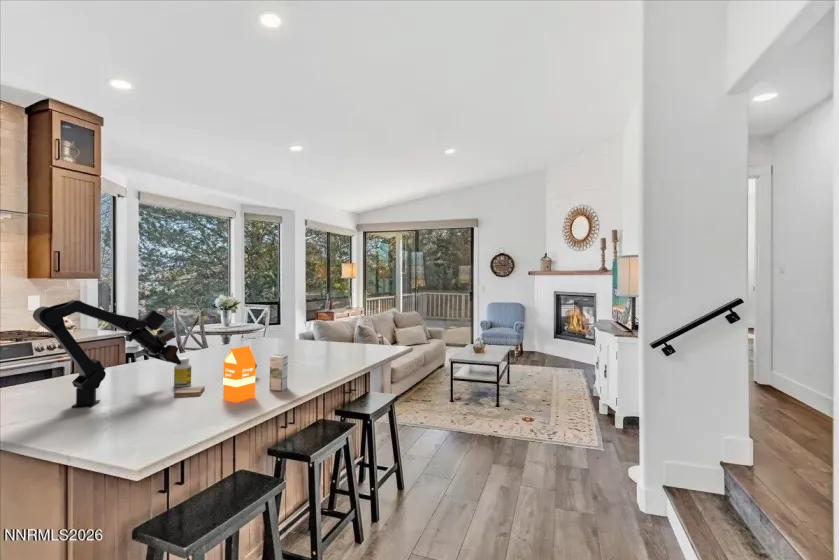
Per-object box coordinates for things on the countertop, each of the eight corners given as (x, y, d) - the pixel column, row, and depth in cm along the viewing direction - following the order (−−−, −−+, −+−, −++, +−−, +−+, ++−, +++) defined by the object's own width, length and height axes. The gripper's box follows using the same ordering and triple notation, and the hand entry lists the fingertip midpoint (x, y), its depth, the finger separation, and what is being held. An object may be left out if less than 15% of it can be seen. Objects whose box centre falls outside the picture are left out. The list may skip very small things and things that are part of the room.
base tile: (199, 395, 170) (199, 392, 170) (174, 397, 168) (174, 393, 168) (204, 389, 179) (204, 386, 179) (180, 391, 176) (180, 387, 176)
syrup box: (287, 387, 185) (288, 354, 185) (282, 391, 179) (282, 356, 179) (275, 387, 185) (275, 353, 185) (268, 390, 179) (269, 356, 179)
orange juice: (222, 399, 166) (223, 347, 166) (241, 394, 174) (242, 344, 173) (236, 402, 162) (237, 349, 162) (255, 397, 170) (256, 346, 170)
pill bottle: (185, 387, 182) (186, 360, 182) (170, 387, 182) (171, 359, 182) (194, 383, 188) (194, 357, 188) (179, 383, 188) (179, 356, 188)
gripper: (173, 325, 172) (200, 349, 182) (150, 322, 182) (176, 344, 192) (152, 348, 166) (181, 371, 175) (129, 343, 176) (158, 365, 185)
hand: (174, 362), depth 182 cm, fingers open, 9 cm apart
